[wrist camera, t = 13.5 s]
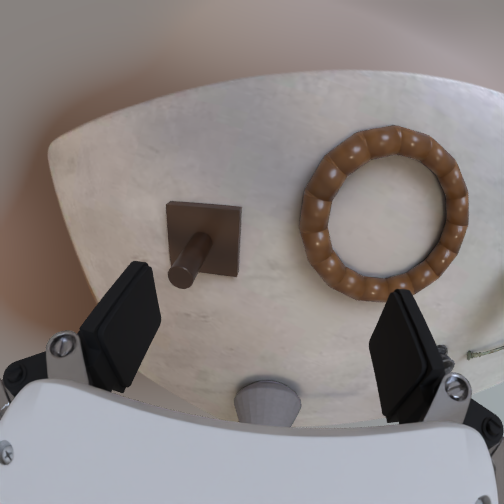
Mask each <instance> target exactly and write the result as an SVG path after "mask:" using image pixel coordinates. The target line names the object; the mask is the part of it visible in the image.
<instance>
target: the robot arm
mask: <svg viewBox="0 0 504 504" xmlns="http://www.w3.org/2000/svg"><path fill="white" fill-rule="evenodd" d="M160 323H161V314H160V309H159V304H158V299H157V294H156V289H155V283H154V277H153V272H152V268H151V267H149V266H148V264H147V263H146V262H139V261H133V262H131V264H130V265H129V266H128V267H127V268H126V269H125V271H124V272H123V273H122V274H121V276H120V277H119V278H118V279H117V280H116V282H115V283H114V284H113V285H112V287H111V288H110V289H109V290H108V292H107V293H106V294H105V295H104V297H103V298H102V299H101V300H100V302H99V303H98V304H97V306H96V307H95V308H94V310H93V311H92V312H91V314H90V315H89V316H88V317H87V319H86V320H85V321H84V323H83V324H82V326H81V327H80V331H79V332H78V333H77V334H76V333H75V332H73V331H61V332H58V333H56V334H55V335H53V336H52V337H51V338H50V339H49V341H48V343H47V345H46V351H45V352H42V353H39V354H36V355H34V356H31V357H28V358H25V359H22V360H19V361H16V362H14V363H12V364H10V365H9V366H8V367H7V369H6V370H5V372H4V375H3V380H1V379H0V504H504V437H503V425H502V422H501V420H500V419H499V417H497V416H496V415H495V414H493V413H492V412H491V411H489V410H488V409H486V408H485V407H483V406H482V405H480V404H479V403H477V402H476V401H474V400H473V399H471V395H472V389H471V385H470V383H469V382H468V380H467V379H466V378H465V377H464V376H462V375H461V374H458V373H454V372H451V373H448V374H446V373H445V365H444V363H443V360H442V358H441V355H440V353H439V350H438V348H437V346H436V343H435V341H434V339H433V337H432V334H431V332H430V330H429V328H428V326H427V324H426V321H425V319H424V317H423V315H422V313H421V311H420V309H419V307H418V305H417V303H416V301H415V299H414V297H413V295H412V293H411V291H410V290H406V289H395V290H394V292H391V293H390V295H389V297H388V299H387V302H386V304H385V307H384V309H383V311H382V314H381V316H380V318H379V321H378V323H377V325H376V327H375V330H374V332H373V334H372V336H371V338H370V341H369V350H370V354H371V359H372V363H373V368H374V372H375V377H376V382H377V387H378V392H379V397H380V403H381V408H382V413H383V415H384V416H386V419H387V423H391V422H399V424H398V425H388V426H376V427H360V428H295V427H279V426H267V425H257V424H248V423H240V422H233V421H226V420H220V419H214V418H209V417H203V416H198V415H193V414H188V413H184V412H179V411H175V410H171V409H167V408H162V407H159V406H155V405H151V404H148V403H144V402H141V401H138V400H134V399H130V398H127V397H124V396H121V395H118V394H115V393H111V391H112V390H115V391H118V392H120V393H124V390H125V388H126V387H129V386H130V385H131V383H132V381H133V379H134V377H135V375H136V373H137V371H138V369H139V367H140V365H141V362H142V360H143V358H144V356H145V354H146V352H147V350H148V348H149V346H150V344H151V342H152V340H153V338H154V336H155V334H156V332H157V330H158V328H159V326H160Z"/></svg>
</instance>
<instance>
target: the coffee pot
mask: <svg viewBox="0 0 504 504" xmlns="http://www.w3.org/2000/svg"><path fill="white" fill-rule="evenodd" d="M234 405H235V409H236V412H237V415H238V419H239V422H240V423H248V424H257V425H267V426H279V427H291V426H292V424H293V422H294V420H295V419H296V417H297V415H298V413H299V411H300V409H301V406H302V405H301V400H300V398H299V397H298V395H297V394H296V393H295V392H294V391H293V390H291V389H290V388H289V387H287V386H286V385H285V384H282V383H280V382H276V381H258V382H255V383H252V384H251V385H249V386H246V387H244V388H243V389H242V390H240V391H239V392H238V394H237V395H236V397H235V398H234Z"/></svg>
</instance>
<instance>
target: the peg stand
mask: <svg viewBox="0 0 504 504" xmlns="http://www.w3.org/2000/svg"><path fill="white" fill-rule="evenodd" d="M241 211H242V207H237V206H226V205H214V204H202V203H189V202H175V201H170V202H169V203H167V204H166V213H167V228H168V241H169V252H170V262H171V268H170V269H169V271H168V278H169V280H170V282H171V283H172V284H173V285H174V286H176V287H178V288H181V289H186V288H189V287H190V286H191V285H192V284H193V282H194V280H195V278H196V276H197V274H198V272H202V273H209V274H217V275H225V276H233V277H237V275H238V272H239V252H240V231H241Z"/></svg>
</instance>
